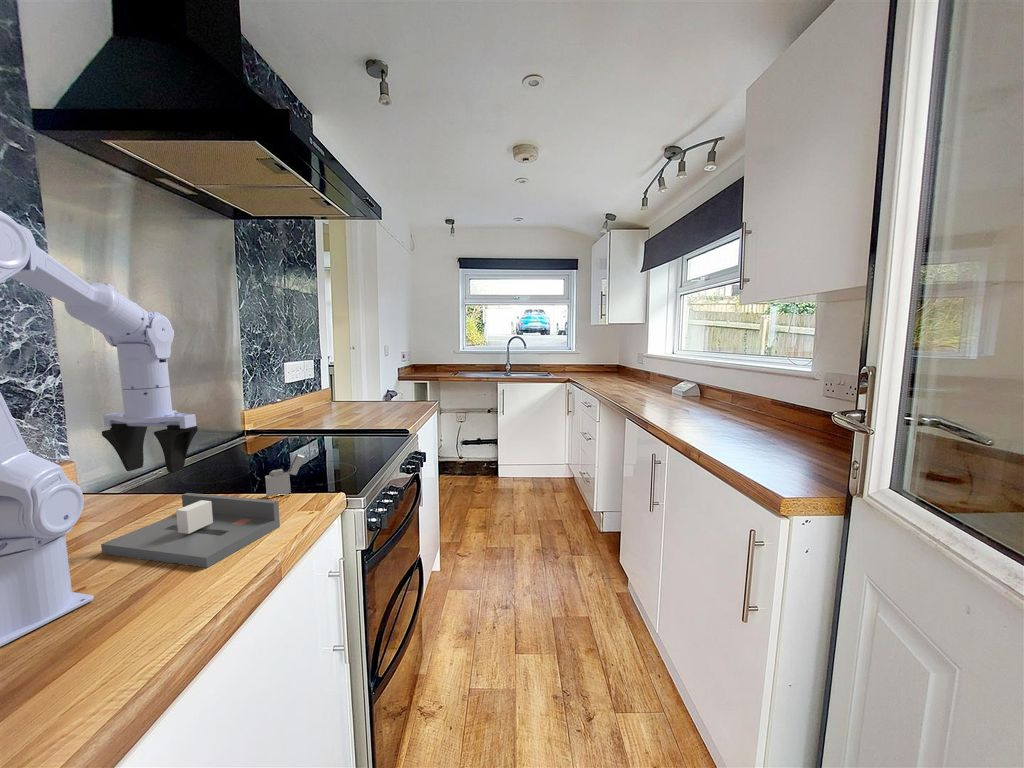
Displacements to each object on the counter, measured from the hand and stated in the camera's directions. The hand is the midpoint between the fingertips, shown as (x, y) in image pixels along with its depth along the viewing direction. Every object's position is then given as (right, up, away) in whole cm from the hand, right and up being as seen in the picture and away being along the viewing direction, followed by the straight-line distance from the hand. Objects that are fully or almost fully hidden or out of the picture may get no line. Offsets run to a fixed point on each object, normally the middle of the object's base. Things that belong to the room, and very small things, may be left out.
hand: (155, 470), depth 66 cm
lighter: (+11, -9, +18) cm, 23 cm away
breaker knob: (+8, -9, -2) cm, 12 cm away
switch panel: (+8, -11, -2) cm, 14 cm away
